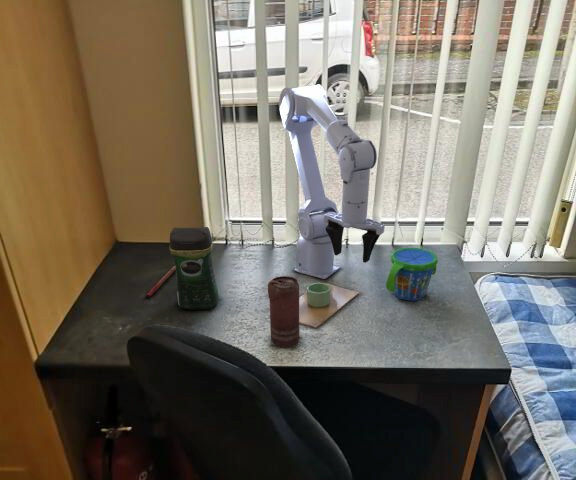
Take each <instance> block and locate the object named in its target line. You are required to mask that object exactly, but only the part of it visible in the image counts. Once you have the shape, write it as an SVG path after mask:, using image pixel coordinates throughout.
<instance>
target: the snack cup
mask: <svg viewBox="0 0 576 480" xmlns="http://www.w3.org/2000/svg"><path fill="white" fill-rule="evenodd" d="M390 261H391V263H392V265H391V267H390V270H389V272H388V275H387V279H386V283H385V287H386V289H387V290H388V291H389V292H391V293H394V295H395V296H396V297H397V298H398V299H399V300H404V301H411V302H412V301H413V302H416V301H420V300H423V298H424V297H425V296H426V294H427V291H428V289H429V285H430V282H431V279H432V275H433V276H434V275H435V274H436V273H437V264H438V263H439V259H438V257H437V255H436V253H434V252H433V251H431V250H428V249H425V248H420V247H403V248H398V249H396V250H394V251H393V252H392V253H391V254H390Z"/></svg>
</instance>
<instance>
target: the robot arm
mask: <svg viewBox="0 0 576 480" xmlns="http://www.w3.org/2000/svg"><path fill="white" fill-rule="evenodd" d="M327 97H328V96H327V92H326V90H324V88H323V86H322V85H321V84H320V83H319V84H318V83H317V84H314V85H307V86H297V87H284V88H282V90H281V92H280V94H279V99H278V110H279V113H280V118H281V122H282V124H283V125H282V126H283V128H284V130H285V131H287V132H288V133H289V138H290V143H291V147H292V152H293V155H294V159H295V163H296V168H297V172H298V177H299V181H300V185H301V188H302V193H303V197H304V203H303V204H302V205H301V207H300V208H299V210H298V212H297V218H298V230H299V234H300V236H299V237H298V239H297V242H296V245H295V268H294V272H297V273H300V274H304V275H307V276H311V277H315V278H318V279H322V280H326V279H328V278H329V277H330V276H331V275H333V274H334V273H336V272H337V271H338V270H340V266H338V265H334V261H335V259H334V256H336V257H337V256H339V255H341V253H342V250H343V236H344V230H345V228H346V229H350V228H352V229H356V230H361V231H365V232H364V233H363V234H362V235H361V239H362V240H361V241H362V249H363V250H362V251H363V252H362V263H365V264H366V263H368V262H369V261H370V260H371V256H372V253H373V250H374V248H375V246H376V244H377V241H378V240H379V238H380V237H381V235H382V234H384V233H385V228H386V227H385V226H386V224H385V223H381V222H378V221H376V220H374V219H372V218H369V217H368V205H369V191H370V179H371V178H370V176H371V170H372V169H373V168H374V167H375V166H376V163H377V160H378V159H377V158H378V154H377V153H378V152H377V150H376V146H375V144H374V143H373V141H372V140H370V139H365V138H361V137H360V136H359V135H358V134H357V133H356V131H355V130H354V129H353V128H352V127H351V125H350V124H349V122H348V120H346V119H338V118H337V116H336V114H335V113H334V112H333V110H332V109H331V107H330V105H329V104H328V98H327ZM317 125H319V126H320V127H321V128H322V130H324V131H325V135H324V137H325V141H326V142H327V143H328V145H329V146H330V147H331V149H332V150H333V151H334V153H335V154H336V155H337V161H338V165H339V168H340V178H341V180H342V192H341V193H342V194H341V195H342V196H341V213H340V212H339V210H338V208H337V204H336V202H335V201H333V200H331V199H329V198H328V197H327V196H326V194H325V188H324V185H323V181H322V176H321V171H320V167H319V162H318V159H317V154H316V149H315V146H314V141H313V136H312V129H313V128H315V127H316V126H317Z"/></svg>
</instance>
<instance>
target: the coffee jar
mask: <svg viewBox="0 0 576 480" xmlns="http://www.w3.org/2000/svg"><path fill="white" fill-rule="evenodd" d="M211 234H212V233H211V230H210V228H209V227H208V226H203V227H202V226H201V227H173V228H172V229H171V231H170V233H169V252H170V254H171V255H172V257H173V260H174V266H175V267H176V270H175V275H176V298H177V304H178V307H180V308H181V309H183V310H190V311H191V310H208V309H212V308H214V307H215V306H217V304H218V303H219V297H220V296H219V291H218V286H217V281H216V277H215V273H214V268H213V261H212V251H213V247H214V241H213V238H212V235H211Z"/></svg>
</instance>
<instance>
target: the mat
mask: <svg viewBox="0 0 576 480" xmlns="http://www.w3.org/2000/svg"><path fill="white" fill-rule="evenodd" d="M319 283H325V284H328V285H329V286H330V287H331V298H330V303H329V304H328V305H327V306H325V307H321V308H316V307H312V306H311V305H309V304H308V303H307V291H305V292H304V293H303V294H302V295H299V325H303V326H306V327H308V328H312V329H315V330H317V329H318V328H319V327H321V325H323V324H324V323H325V322H327V321H328V320H329V319H330V318H332V316H334V315H336V313H337V312H339V311H340V310H341V309H343V307H345V306H347V304H348V303H350V302H351V301H352V300H353V299H355V298H356V297H357V296H359V295H360V292H359V291H356V290H352V289H348V288H344V287H341V286H337V285H334V284H330V283H326V282H324V281H323V282H322V281H320V282H319Z"/></svg>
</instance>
